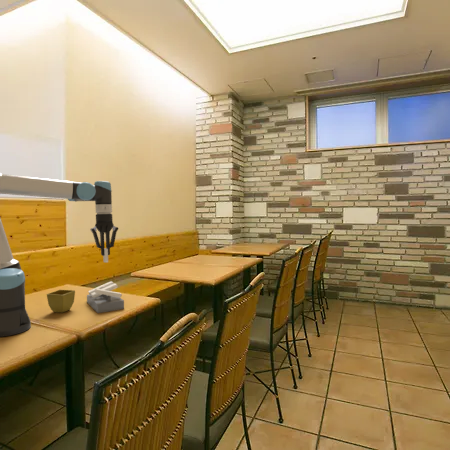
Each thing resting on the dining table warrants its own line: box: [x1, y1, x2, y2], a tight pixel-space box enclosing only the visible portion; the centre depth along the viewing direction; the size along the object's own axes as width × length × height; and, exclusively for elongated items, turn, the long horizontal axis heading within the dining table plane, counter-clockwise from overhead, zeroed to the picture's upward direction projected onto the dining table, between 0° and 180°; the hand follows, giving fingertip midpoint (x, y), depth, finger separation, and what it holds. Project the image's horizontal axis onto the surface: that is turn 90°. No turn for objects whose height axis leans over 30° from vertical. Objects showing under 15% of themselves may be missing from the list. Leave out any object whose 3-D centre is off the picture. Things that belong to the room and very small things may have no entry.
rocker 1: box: [87, 281, 114, 295], centre depth 168 cm, size 12×3×2 cm, turn 124°
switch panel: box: [86, 293, 125, 314], centre depth 163 cm, size 12×22×6 cm, turn 34°
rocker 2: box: [91, 282, 119, 298], centre depth 163 cm, size 12×3×2 cm, turn 124°
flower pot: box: [46, 289, 76, 314], centre depth 154 cm, size 9×9×9 cm
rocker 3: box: [94, 287, 123, 298], centre depth 158 cm, size 12×3×2 cm, turn 124°
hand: (105, 262), depth 161 cm, fingers closed
